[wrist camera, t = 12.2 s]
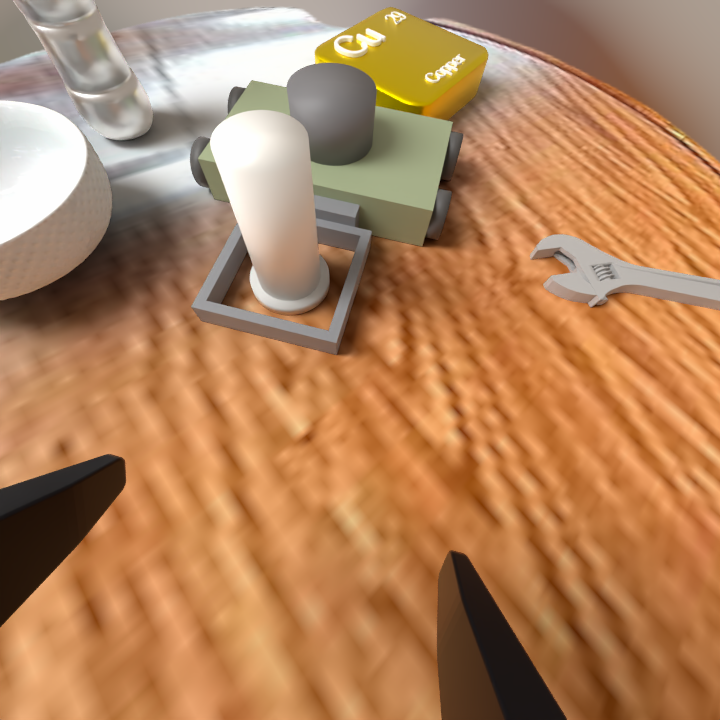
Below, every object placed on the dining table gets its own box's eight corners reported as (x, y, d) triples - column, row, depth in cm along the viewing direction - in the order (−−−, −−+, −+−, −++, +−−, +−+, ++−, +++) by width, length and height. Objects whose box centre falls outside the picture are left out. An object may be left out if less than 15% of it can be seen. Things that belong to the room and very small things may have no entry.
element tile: (413, 152, 37) (422, 104, 32) (309, 95, 40) (305, 44, 36) (481, 93, 42) (498, 44, 38) (385, 47, 45) (390, -3, 41)
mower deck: (409, 373, 26) (436, 318, 18) (133, 303, 27) (56, 226, 20) (452, 164, 36) (481, 74, 28) (250, 120, 37) (227, 24, 29)
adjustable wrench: (805, 307, 31) (830, 296, 29) (825, 370, 28) (855, 362, 27) (531, 241, 32) (542, 226, 31) (527, 295, 30) (538, 282, 28)
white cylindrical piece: (277, 328, 27) (232, 201, 16) (238, 273, 29) (174, 126, 18) (344, 291, 28) (346, 153, 17) (303, 241, 30) (282, 89, 19)
